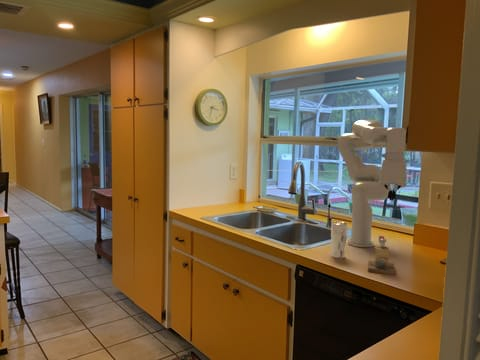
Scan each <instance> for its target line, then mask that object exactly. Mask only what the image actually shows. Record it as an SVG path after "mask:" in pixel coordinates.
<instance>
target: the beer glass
mask: <svg viewBox="0 0 480 360" xmlns="http://www.w3.org/2000/svg"><path fill="white" fill-rule="evenodd" d="M347 238H348V223H346V222H343V221H332V222H331V229H330V239H331V248H332V249H331V253H330V256H331V257H333V258H335V259H344V258H345V256H346V255H345V253H346V252H345V246H346V243H347V242H346V241H347Z"/></svg>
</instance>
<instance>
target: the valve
mask: <svg viewBox="0 0 480 360" xmlns="http://www.w3.org/2000/svg"><path fill="white" fill-rule="evenodd" d="M389 254H390V247H389V246H386V245H385V248H380V245H375V256H374V257H375V258H374V261H373V260H368V262H367V272H368V273H375V274H384V275H390V276H391V275H392V276H396V268H395V263H390V262H389V257H390V256H389Z"/></svg>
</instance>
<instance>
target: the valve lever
mask: <svg viewBox="0 0 480 360" xmlns="http://www.w3.org/2000/svg"><path fill="white" fill-rule="evenodd" d="M378 242H379V244H380V245H379V246H380V248H385V246H386V243H387V239H386V238H385V236H384V235H378Z"/></svg>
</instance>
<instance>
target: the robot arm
mask: <svg viewBox="0 0 480 360" xmlns="http://www.w3.org/2000/svg"><path fill="white" fill-rule="evenodd" d="M351 130H352V132H350V133H349V132H348V133H343V134H341V135H340V136H339V138H338V142H337V144H338V145H337V146H338V151H339V154H340V156H341V158H342V159H343V161H344V162H345V163H344V164H345V166H346V170H347V172H348V176H349V179H350V180H351V182H353V184H352V186H351V190H350V191H351V198H352V200H351V201H352V206H351V207H352V209H351V212H352V213H351V231H350V239H348V240H347V244H348V245H349V246H353V247H356V248H357V247H358V248H372V247H373V246H375V243H374V241H371V240H372V228H373V227H372V226H373V225H372V224H373V209H372V206H371V205H370V203H369V202H370V201H371V202H372V201H373V202H375V201H376V202H377V201H379V202H380V201H384V200H386V199H389V200H388V201H390V202H391V201H392V202H394V200H395V199H396V197H397V191H398V190H399V189H402V188H406V187H407V170H408V169H407V161H406V160H405V148H406V135H407V131H406V129H405V128H404V127H386V126H384V127H383V124H382V123H381V121H379V120H375V119H374V120H373V119H371V120H370V119H360V120H357V121H355V122H354V123H353V124H352V126H351ZM374 145H385V150H384V153H381V156H380V157H381V158H384V159H383V160H382V163H381V168H380V166H378V165H376V164H366V163H365V162H364V161H363V159H362V156H361V155H360V154H359V153H358V152H357V151H355V150H371V148H372V147H373V146H374ZM391 185H393V188H392V187H391Z"/></svg>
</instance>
